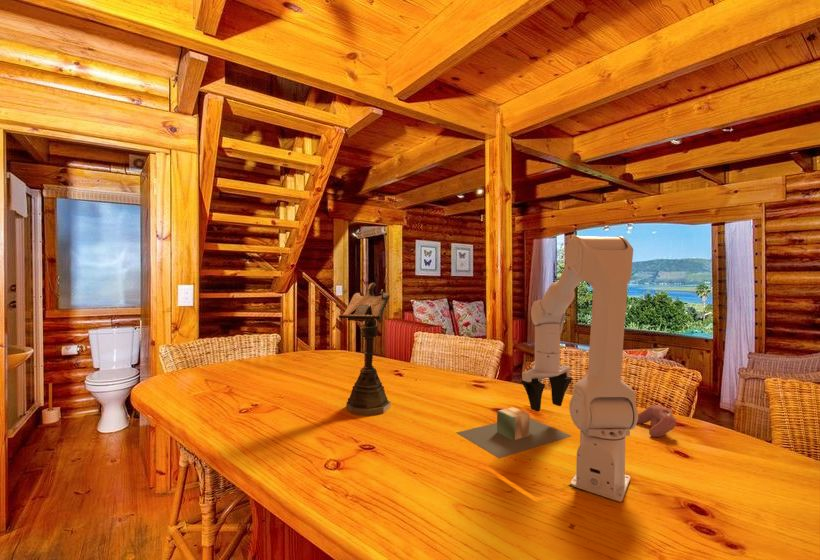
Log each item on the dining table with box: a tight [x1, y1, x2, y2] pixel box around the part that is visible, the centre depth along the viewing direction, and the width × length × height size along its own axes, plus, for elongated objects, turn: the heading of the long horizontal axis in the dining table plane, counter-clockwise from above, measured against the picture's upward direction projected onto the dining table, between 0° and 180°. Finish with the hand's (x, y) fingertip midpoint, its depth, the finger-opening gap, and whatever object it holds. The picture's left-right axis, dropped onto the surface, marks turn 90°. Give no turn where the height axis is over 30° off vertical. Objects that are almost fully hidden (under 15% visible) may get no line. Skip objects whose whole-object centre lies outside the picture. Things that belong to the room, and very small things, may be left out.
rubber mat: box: [455, 417, 572, 459], centre depth 87 cm, size 22×14×1 cm, turn 120°
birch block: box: [496, 406, 530, 440], centre depth 87 cm, size 5×5×5 cm
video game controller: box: [637, 403, 677, 438], centre depth 91 cm, size 10×5×7 cm, turn 169°
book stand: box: [336, 282, 391, 417], centre depth 102 cm, size 17×13×35 cm
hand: (546, 407), depth 92 cm, fingers open, 7 cm apart
